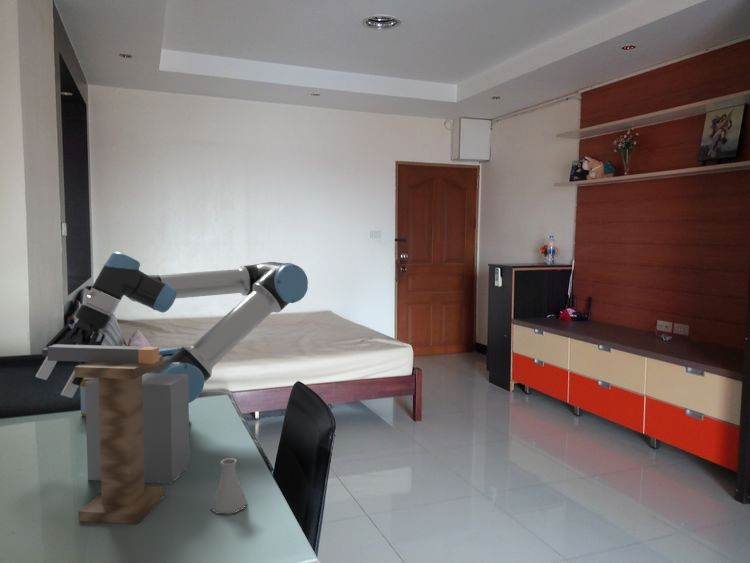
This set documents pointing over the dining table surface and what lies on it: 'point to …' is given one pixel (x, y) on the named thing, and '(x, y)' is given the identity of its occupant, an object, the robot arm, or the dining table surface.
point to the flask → (228, 490)
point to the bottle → (83, 396)
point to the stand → (120, 444)
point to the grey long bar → (102, 353)
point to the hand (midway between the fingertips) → (53, 387)
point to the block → (149, 427)
